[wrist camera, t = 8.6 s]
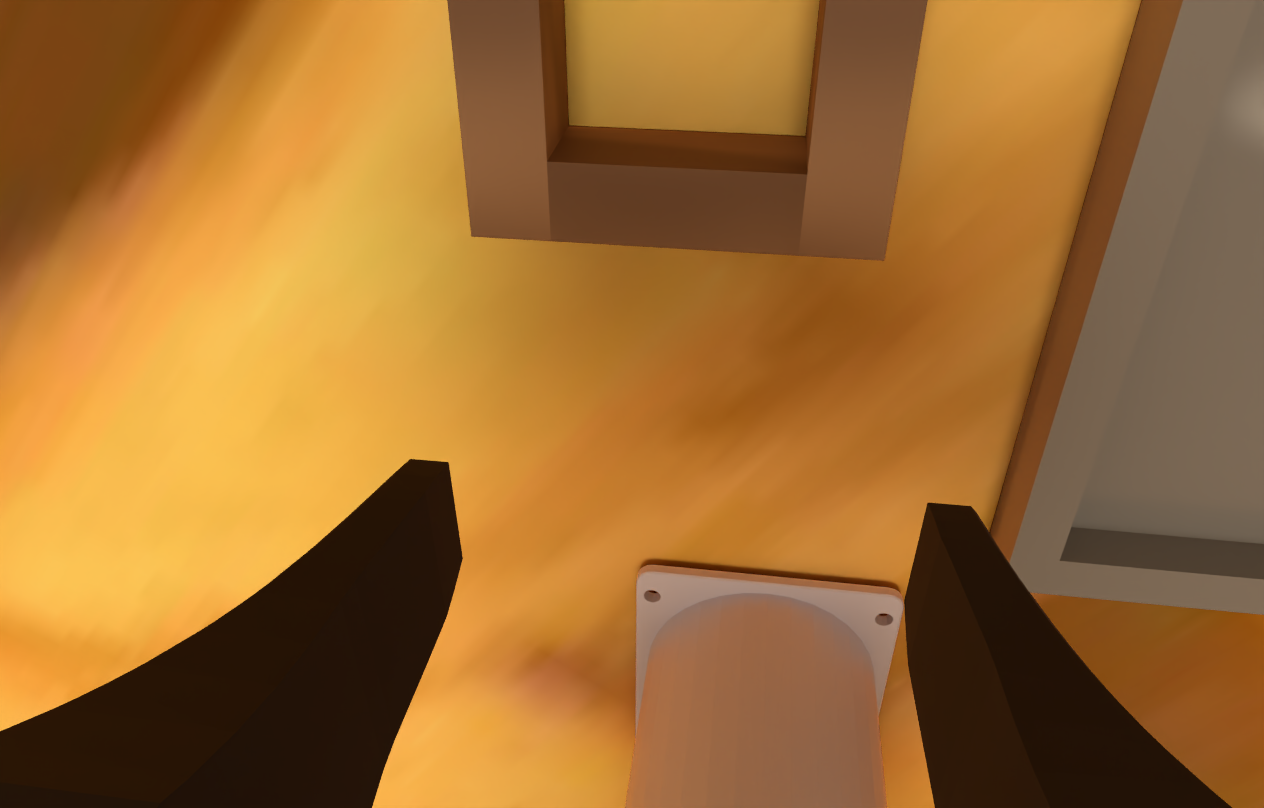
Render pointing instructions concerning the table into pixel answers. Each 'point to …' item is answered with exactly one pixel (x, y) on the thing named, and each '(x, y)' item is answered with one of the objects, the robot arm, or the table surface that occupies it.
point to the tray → (1157, 339)
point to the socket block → (684, 144)
